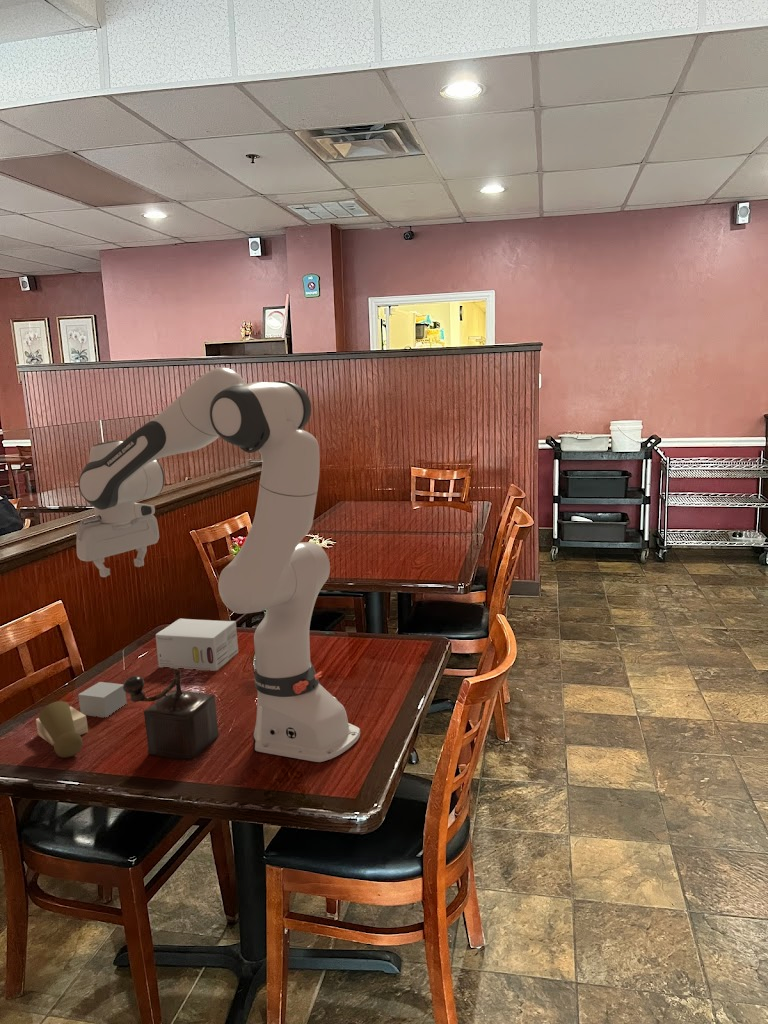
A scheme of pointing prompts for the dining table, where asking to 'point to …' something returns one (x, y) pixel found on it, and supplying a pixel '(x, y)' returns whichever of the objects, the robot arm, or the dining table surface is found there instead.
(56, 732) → the cork
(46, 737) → the maple block
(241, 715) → the dining table surface
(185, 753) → the pepper mill
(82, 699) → the grey block
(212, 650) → the supplement box
